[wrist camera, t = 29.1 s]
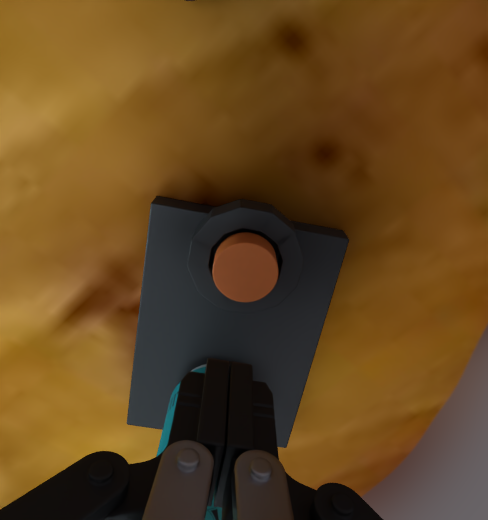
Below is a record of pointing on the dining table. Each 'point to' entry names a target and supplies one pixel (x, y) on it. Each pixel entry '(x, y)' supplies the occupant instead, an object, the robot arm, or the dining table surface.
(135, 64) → the dining table surface
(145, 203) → the dining table surface
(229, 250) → the button
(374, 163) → the dining table surface
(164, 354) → the scale
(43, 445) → the dining table surface
